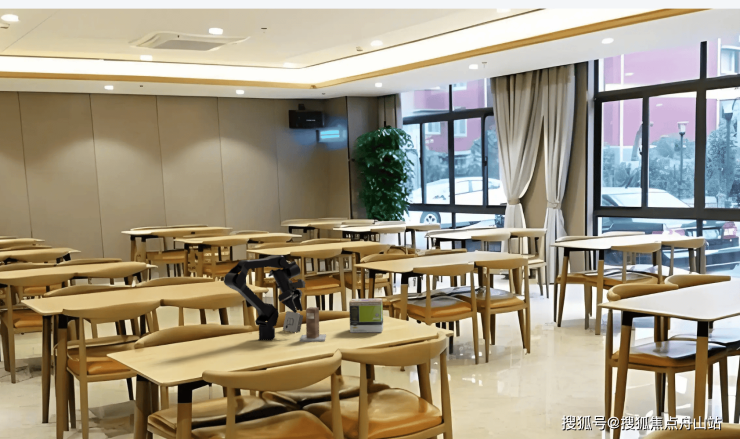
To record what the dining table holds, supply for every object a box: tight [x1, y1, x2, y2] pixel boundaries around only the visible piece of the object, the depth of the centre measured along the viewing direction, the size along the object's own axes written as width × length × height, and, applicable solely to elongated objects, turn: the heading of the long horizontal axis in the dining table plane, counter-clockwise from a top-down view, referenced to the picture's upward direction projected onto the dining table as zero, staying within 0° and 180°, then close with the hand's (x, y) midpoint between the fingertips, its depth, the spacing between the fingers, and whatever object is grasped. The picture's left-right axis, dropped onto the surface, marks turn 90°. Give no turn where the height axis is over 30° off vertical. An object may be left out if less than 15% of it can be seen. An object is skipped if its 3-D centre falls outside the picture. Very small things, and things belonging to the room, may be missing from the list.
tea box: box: [348, 297, 384, 333], centre depth 337 cm, size 15×10×15 cm
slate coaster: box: [299, 333, 327, 343], centre depth 321 cm, size 11×11×1 cm
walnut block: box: [305, 306, 320, 338], centre depth 320 cm, size 4×5×13 cm
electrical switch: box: [282, 310, 304, 333], centre depth 340 cm, size 9×5×9 cm, turn 46°
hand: (298, 311), depth 324 cm, fingers open, 9 cm apart
